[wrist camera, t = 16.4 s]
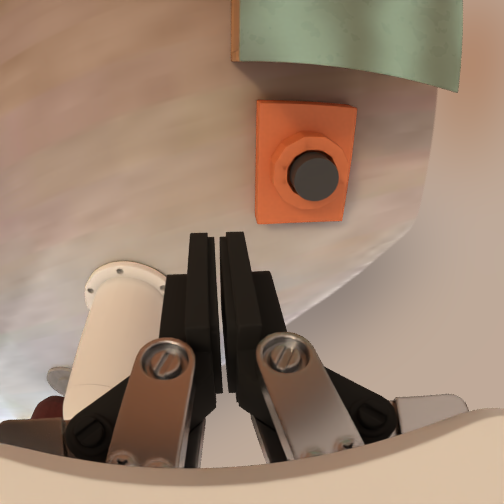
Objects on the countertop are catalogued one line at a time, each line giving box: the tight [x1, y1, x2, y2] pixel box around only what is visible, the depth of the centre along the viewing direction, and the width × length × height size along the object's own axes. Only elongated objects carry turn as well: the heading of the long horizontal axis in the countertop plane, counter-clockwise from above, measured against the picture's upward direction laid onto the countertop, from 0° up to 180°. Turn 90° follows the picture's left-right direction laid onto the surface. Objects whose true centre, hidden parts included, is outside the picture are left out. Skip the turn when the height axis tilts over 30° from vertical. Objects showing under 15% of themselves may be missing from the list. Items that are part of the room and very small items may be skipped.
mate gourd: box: [31, 367, 72, 419], centre depth 40 cm, size 16×14×20 cm
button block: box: [255, 100, 357, 224], centre depth 28 cm, size 12×9×4 cm
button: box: [290, 152, 339, 201], centre depth 26 cm, size 4×4×2 cm
